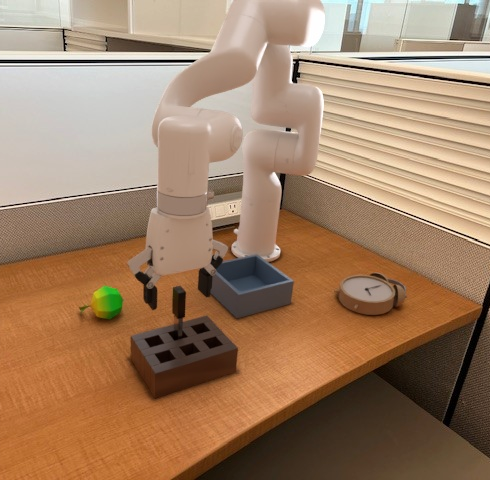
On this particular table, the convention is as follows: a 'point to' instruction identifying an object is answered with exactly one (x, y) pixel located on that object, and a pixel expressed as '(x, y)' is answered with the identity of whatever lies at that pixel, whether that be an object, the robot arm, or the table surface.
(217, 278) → the bin
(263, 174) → the robot arm
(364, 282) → the alarm clock
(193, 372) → the block
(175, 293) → the knife
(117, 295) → the apple
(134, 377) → the table surface
